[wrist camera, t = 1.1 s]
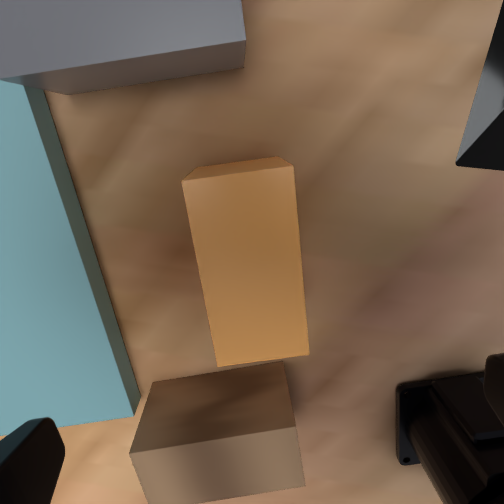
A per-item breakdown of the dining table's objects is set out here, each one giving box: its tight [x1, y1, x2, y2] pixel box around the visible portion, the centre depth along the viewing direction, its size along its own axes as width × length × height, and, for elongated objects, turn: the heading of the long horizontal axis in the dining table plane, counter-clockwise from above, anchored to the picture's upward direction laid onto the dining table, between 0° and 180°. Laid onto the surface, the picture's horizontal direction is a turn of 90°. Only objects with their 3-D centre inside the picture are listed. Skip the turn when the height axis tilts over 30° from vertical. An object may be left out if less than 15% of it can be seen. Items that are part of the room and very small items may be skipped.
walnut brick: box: [129, 361, 305, 504], centre depth 19 cm, size 8×4×5 cm, turn 99°
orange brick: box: [181, 156, 309, 367], centre depth 16 cm, size 8×4×5 cm, turn 7°
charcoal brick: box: [0, 0, 246, 95], centre depth 12 cm, size 8×4×5 cm, turn 98°
